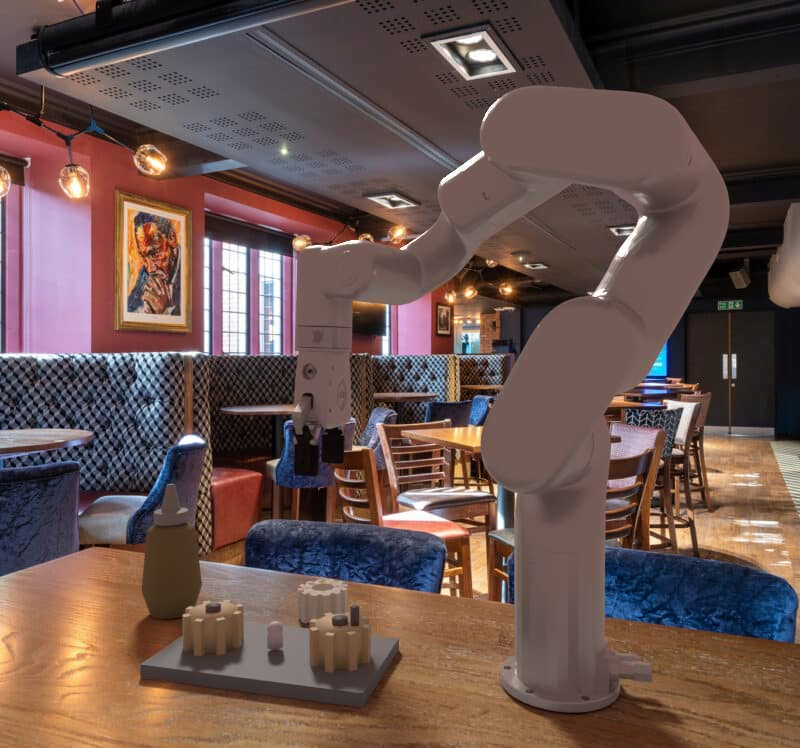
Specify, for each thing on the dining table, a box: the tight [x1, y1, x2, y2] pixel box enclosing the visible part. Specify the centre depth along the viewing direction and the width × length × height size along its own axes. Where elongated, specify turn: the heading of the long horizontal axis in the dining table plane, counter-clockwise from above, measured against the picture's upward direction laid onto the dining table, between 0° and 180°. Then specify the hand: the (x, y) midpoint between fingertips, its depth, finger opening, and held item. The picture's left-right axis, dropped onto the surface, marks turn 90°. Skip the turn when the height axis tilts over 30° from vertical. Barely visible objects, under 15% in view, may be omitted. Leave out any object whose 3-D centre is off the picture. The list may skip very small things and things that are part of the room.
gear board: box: [139, 599, 400, 709], centre depth 78 cm, size 26×14×8 cm, turn 75°
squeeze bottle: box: [141, 483, 203, 620], centre depth 94 cm, size 8×8×18 cm
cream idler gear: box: [297, 578, 349, 625], centre depth 93 cm, size 7×7×4 cm
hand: (320, 468), depth 90 cm, fingers open, 9 cm apart
